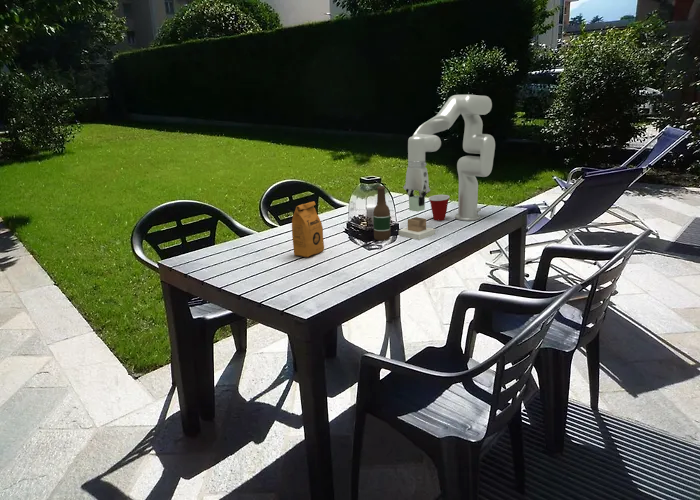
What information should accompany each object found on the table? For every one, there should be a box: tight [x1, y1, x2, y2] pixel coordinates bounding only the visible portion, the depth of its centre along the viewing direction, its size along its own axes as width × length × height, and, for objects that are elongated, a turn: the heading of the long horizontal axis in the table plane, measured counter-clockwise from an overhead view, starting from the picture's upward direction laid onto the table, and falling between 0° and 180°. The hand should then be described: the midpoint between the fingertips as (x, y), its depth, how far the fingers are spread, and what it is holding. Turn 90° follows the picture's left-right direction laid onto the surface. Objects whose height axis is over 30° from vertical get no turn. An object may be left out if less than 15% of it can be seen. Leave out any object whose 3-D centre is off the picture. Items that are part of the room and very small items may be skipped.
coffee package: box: [291, 201, 325, 258], centre depth 212 cm, size 10×12×22 cm
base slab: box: [398, 226, 436, 241], centre depth 236 cm, size 12×12×2 cm
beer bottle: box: [372, 185, 391, 241], centre depth 229 cm, size 8×8×24 cm
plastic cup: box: [427, 194, 450, 222], centre depth 259 cm, size 11×11×12 cm
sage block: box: [408, 195, 426, 213], centre depth 232 cm, size 5×5×6 cm
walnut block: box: [407, 216, 427, 232], centre depth 234 cm, size 6×6×5 cm
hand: (416, 204), depth 231 cm, fingers closed on sage block, 4 cm apart
